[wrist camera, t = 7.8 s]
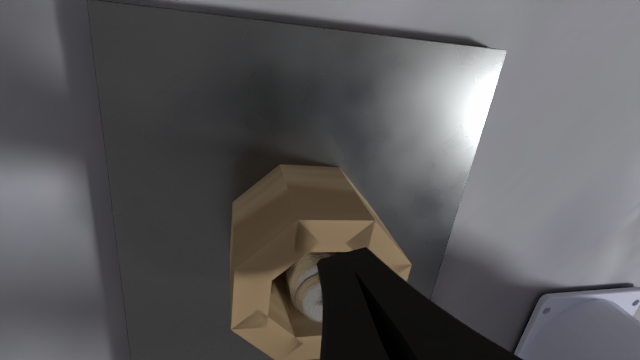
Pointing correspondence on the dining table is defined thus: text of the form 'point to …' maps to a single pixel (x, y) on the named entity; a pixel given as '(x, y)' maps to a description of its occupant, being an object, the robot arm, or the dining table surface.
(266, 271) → the ring
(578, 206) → the dining table surface
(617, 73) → the dining table surface
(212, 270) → the hub
